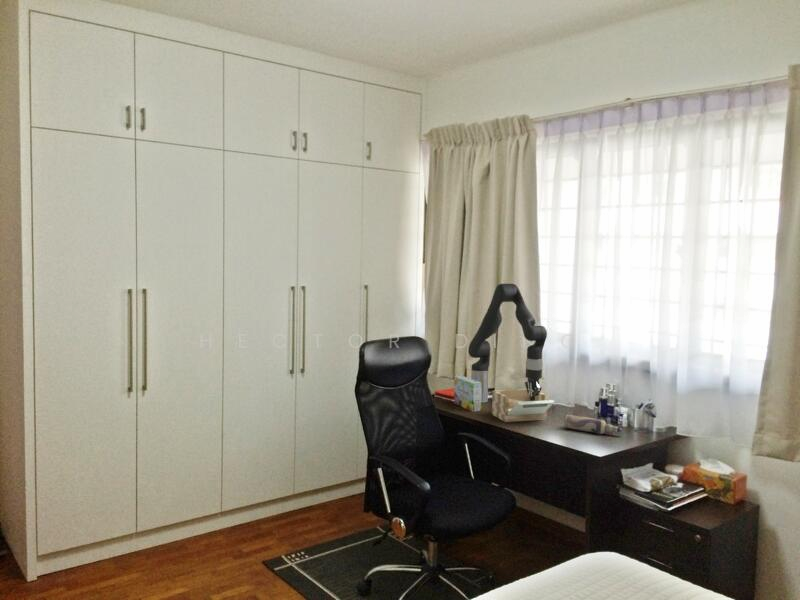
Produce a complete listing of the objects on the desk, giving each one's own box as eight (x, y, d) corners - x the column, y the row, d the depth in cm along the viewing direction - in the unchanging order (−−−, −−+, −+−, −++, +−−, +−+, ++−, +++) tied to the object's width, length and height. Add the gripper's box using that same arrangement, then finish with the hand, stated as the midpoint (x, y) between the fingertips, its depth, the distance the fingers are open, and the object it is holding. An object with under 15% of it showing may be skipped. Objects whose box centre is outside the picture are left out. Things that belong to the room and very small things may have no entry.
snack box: (453, 403, 361) (453, 375, 360) (462, 402, 363) (462, 375, 362) (472, 412, 342) (473, 383, 341) (482, 411, 344) (482, 382, 343)
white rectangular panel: (508, 412, 323) (517, 401, 314) (543, 410, 328) (553, 399, 319) (509, 416, 322) (519, 405, 313) (544, 414, 327) (554, 403, 318)
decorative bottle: (562, 429, 310) (563, 415, 309) (568, 426, 316) (569, 412, 316) (619, 439, 295) (619, 424, 295) (624, 435, 301) (624, 420, 301)
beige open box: (491, 414, 338) (492, 390, 337) (531, 412, 344) (532, 388, 343) (505, 421, 322) (506, 397, 322) (546, 419, 329) (547, 395, 328)
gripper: (520, 365, 323) (518, 400, 325) (533, 370, 310) (531, 407, 312) (534, 364, 325) (532, 399, 327) (547, 370, 313) (546, 406, 314)
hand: (532, 403), depth 320 cm, fingers closed
